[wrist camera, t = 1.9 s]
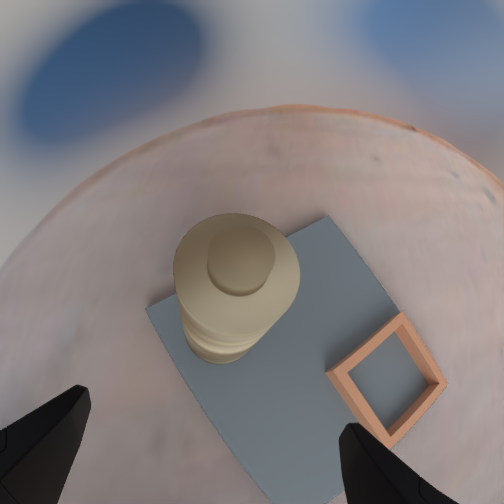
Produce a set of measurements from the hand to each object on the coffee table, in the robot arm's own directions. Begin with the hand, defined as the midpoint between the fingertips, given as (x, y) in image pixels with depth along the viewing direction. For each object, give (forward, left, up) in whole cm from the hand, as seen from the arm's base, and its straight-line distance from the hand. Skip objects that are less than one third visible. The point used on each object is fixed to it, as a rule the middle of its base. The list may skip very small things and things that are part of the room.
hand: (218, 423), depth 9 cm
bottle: (+5, -4, -11) cm, 13 cm away
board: (-1, -9, -12) cm, 15 cm away
